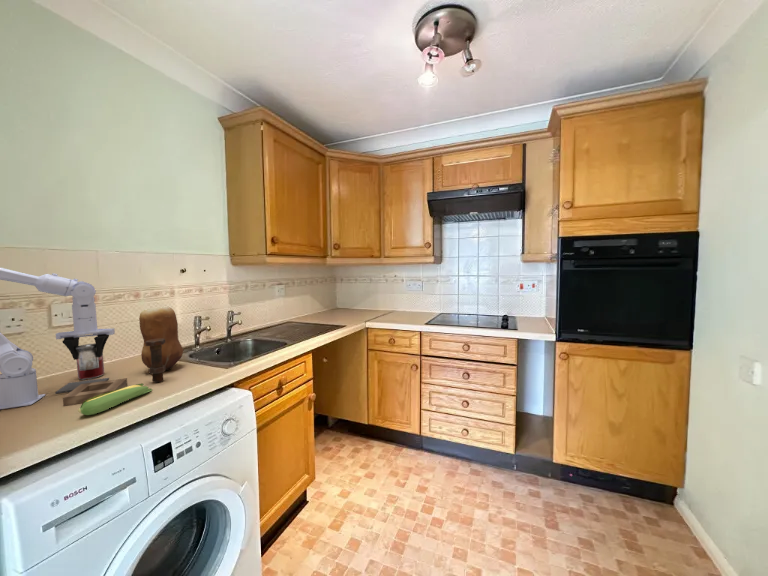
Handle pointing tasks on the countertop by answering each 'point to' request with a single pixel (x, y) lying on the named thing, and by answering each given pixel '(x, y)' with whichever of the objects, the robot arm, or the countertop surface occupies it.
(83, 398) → the wooden square frame
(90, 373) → the soda can
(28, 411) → the countertop surface
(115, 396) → the edible corn
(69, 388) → the rest mat
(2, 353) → the robot arm
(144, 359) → the butternut squash
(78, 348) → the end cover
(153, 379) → the bolt
